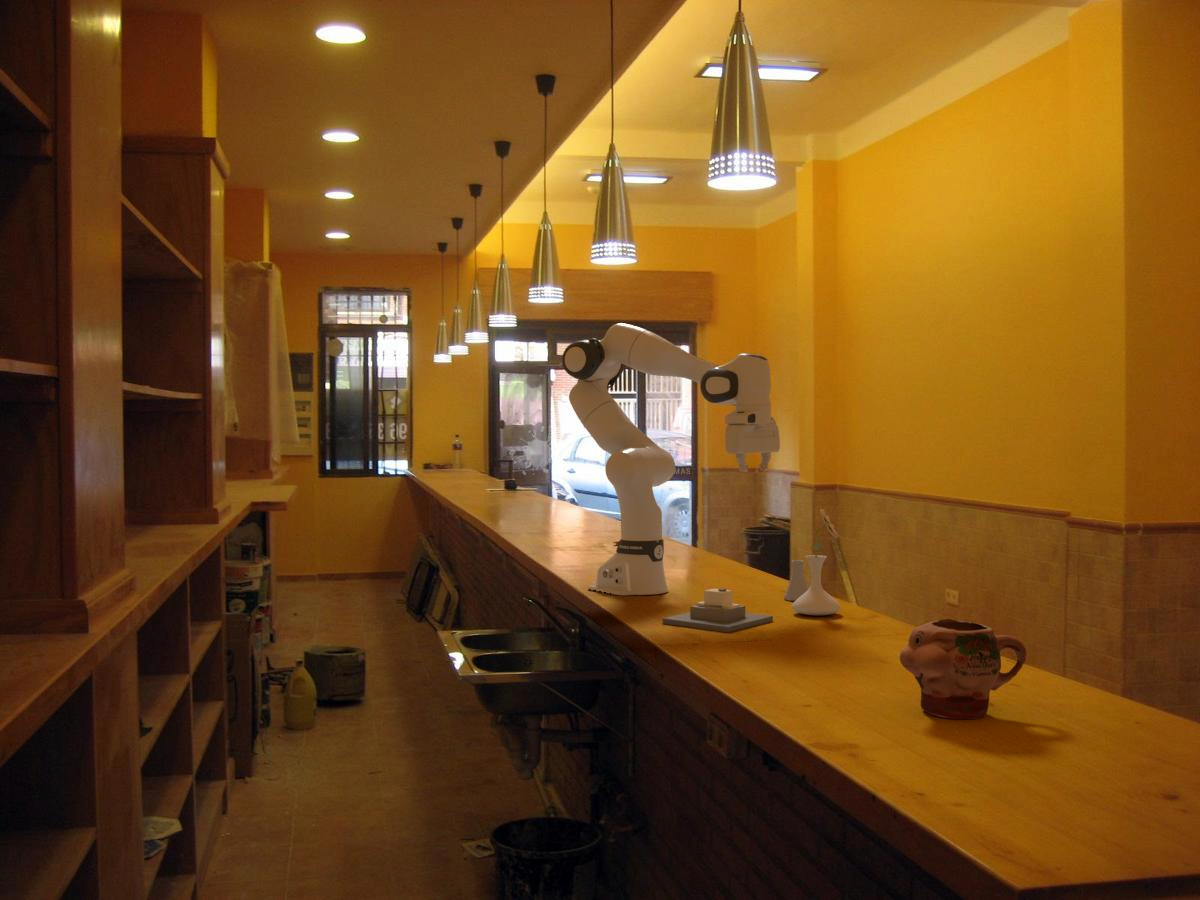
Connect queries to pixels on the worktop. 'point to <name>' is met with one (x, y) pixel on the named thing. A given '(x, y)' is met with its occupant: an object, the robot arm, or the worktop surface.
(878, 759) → the worktop surface
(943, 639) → the sculpted ceramic mug
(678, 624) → the plate
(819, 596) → the flower in vase
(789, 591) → the flask
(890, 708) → the worktop surface
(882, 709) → the worktop surface
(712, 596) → the block
